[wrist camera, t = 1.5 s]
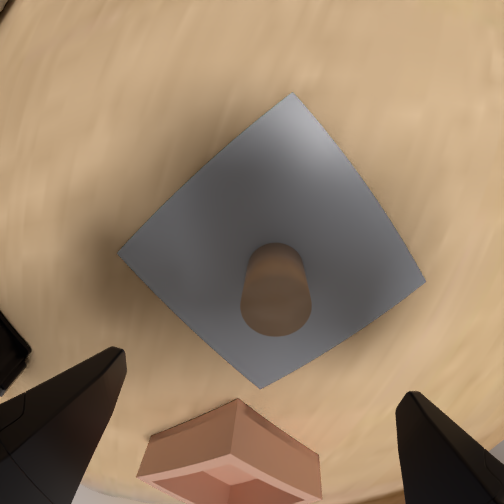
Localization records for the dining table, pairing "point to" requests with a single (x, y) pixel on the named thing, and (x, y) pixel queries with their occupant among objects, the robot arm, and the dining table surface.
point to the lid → (274, 248)
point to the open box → (231, 461)
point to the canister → (2, 4)
